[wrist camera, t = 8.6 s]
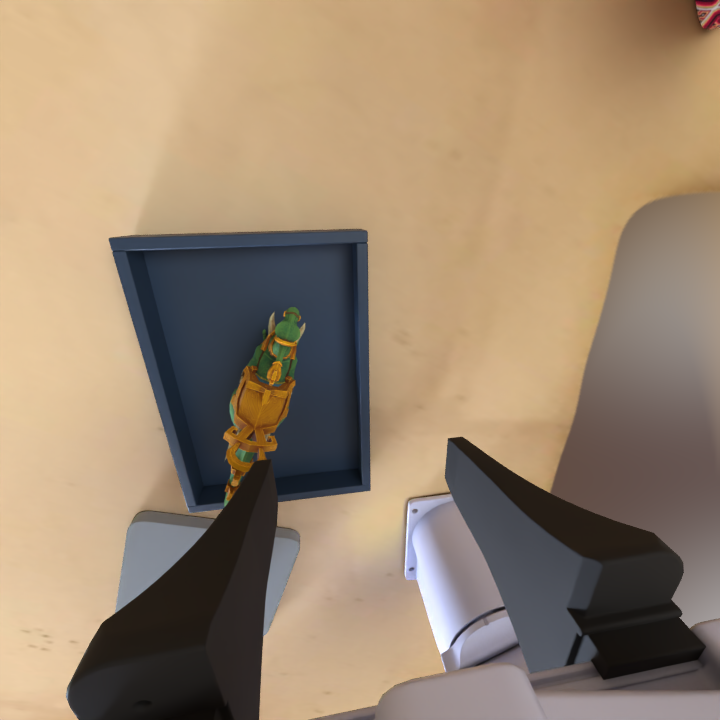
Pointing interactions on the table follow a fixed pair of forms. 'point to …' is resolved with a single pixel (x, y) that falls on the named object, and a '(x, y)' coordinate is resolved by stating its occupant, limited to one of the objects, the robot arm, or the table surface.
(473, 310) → the table surface
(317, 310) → the tray
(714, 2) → the handbag
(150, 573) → the shower valve
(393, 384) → the table surface
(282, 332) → the figurine
